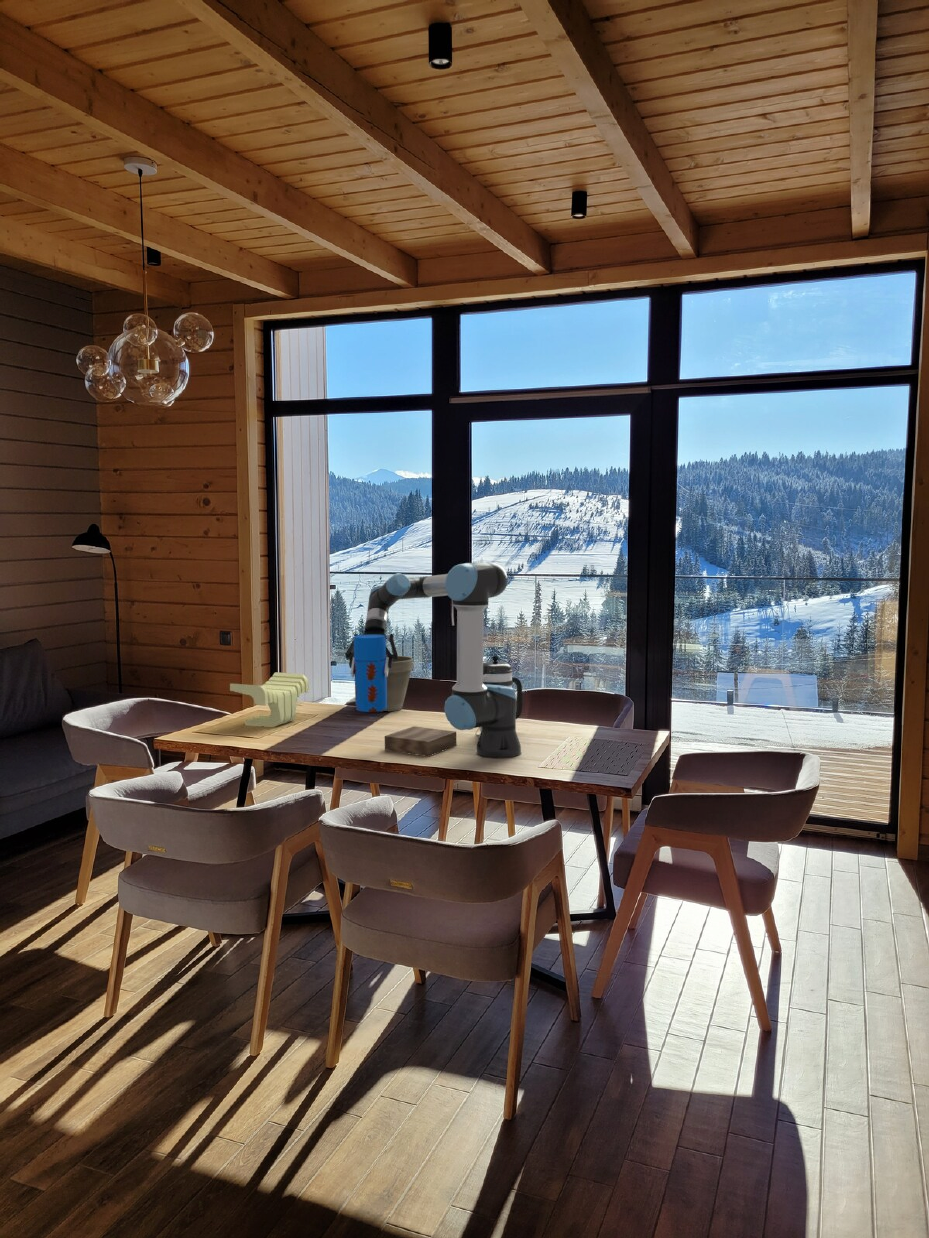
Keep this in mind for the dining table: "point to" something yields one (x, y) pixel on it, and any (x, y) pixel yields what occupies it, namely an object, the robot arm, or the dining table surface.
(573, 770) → the dining table surface
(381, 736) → the dining table surface
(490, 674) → the coffee press
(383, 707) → the thermos
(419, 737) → the block
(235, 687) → the pale green ribbed part
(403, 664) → the plant pot
